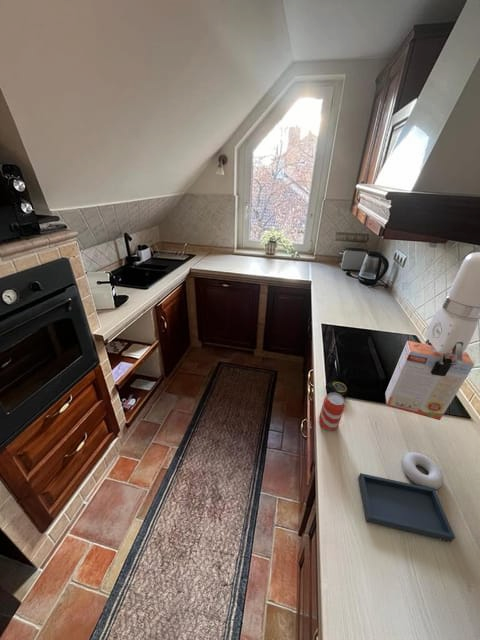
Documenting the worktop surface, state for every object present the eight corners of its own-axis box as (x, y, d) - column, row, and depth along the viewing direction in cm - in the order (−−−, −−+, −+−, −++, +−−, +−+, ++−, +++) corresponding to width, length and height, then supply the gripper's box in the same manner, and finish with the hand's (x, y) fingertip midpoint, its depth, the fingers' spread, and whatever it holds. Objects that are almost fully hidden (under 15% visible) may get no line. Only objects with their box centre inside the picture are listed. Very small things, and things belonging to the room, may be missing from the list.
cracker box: (434, 405, 77) (468, 351, 66) (440, 421, 72) (476, 365, 61) (383, 392, 81) (407, 338, 70) (385, 406, 76) (410, 351, 66)
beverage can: (327, 434, 83) (335, 409, 76) (314, 418, 88) (321, 394, 81) (341, 427, 85) (350, 403, 79) (328, 413, 90) (336, 388, 84)
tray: (430, 493, 68) (434, 488, 67) (450, 542, 59) (455, 538, 58) (357, 477, 71) (360, 472, 70) (366, 522, 62) (369, 517, 61)
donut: (414, 451, 78) (392, 463, 75) (419, 444, 77) (396, 456, 73) (448, 483, 70) (425, 498, 67) (454, 476, 69) (430, 491, 65)
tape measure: (323, 389, 99) (325, 382, 98) (337, 385, 102) (339, 378, 100) (335, 402, 94) (337, 395, 92) (349, 397, 96) (352, 390, 94)
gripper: (430, 290, 67) (406, 345, 76) (463, 323, 53) (429, 386, 62) (462, 294, 66) (433, 349, 75) (505, 328, 51) (464, 391, 60)
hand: (432, 365), depth 68 cm, fingers closed on cracker box, 6 cm apart
